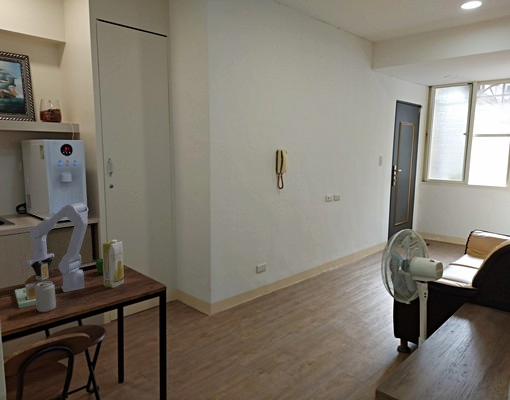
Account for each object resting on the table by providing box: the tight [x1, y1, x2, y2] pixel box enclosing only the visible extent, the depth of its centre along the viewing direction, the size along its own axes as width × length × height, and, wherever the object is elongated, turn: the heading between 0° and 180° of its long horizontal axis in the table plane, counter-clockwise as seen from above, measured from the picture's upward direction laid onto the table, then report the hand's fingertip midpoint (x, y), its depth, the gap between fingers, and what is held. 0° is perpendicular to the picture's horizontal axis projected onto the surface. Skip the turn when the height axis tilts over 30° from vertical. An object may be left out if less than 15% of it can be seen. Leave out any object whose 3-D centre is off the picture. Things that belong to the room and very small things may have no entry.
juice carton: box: [101, 239, 125, 289], centre depth 194 cm, size 9×8×24 cm
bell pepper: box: [95, 257, 103, 275], centre depth 213 cm, size 8×8×10 cm
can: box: [35, 280, 57, 313], centre depth 165 cm, size 8×8×12 cm
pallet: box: [14, 287, 36, 309], centre depth 177 cm, size 11×20×2 cm, turn 37°
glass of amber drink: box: [24, 282, 37, 300], centre depth 173 cm, size 4×4×8 cm
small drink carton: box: [35, 261, 50, 281], centre depth 193 cm, size 4×4×8 cm
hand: (42, 274), depth 193 cm, fingers closed on small drink carton, 4 cm apart
